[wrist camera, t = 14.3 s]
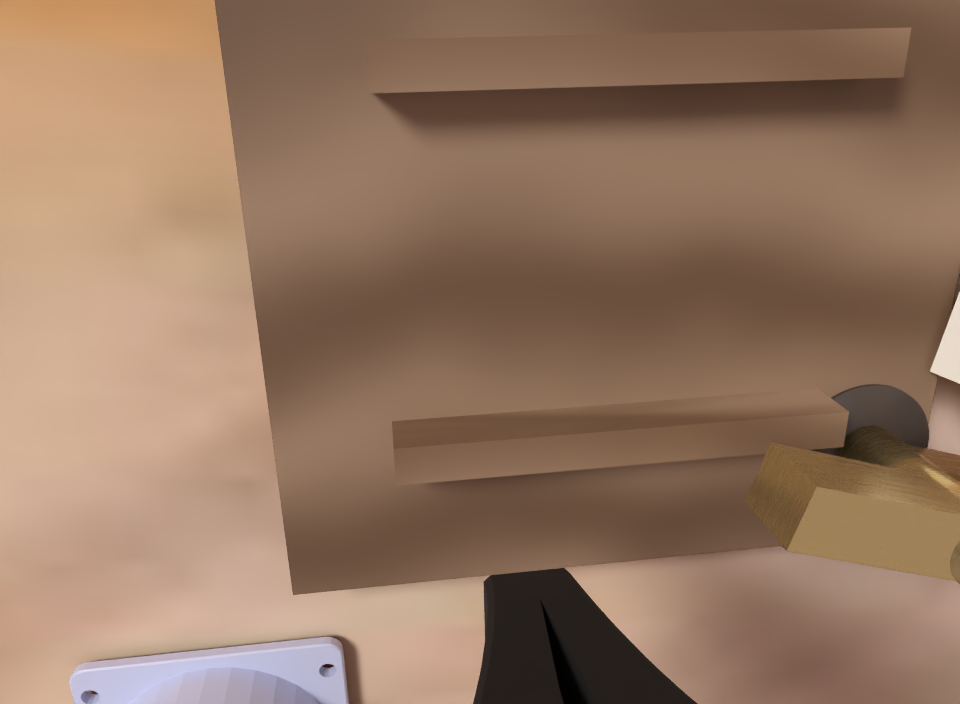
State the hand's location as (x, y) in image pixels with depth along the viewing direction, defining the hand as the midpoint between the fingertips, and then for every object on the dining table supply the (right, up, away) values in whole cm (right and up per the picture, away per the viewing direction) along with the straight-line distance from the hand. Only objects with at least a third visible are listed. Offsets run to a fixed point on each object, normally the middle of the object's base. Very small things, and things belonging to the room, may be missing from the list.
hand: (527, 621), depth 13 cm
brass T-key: (+11, +1, +9) cm, 14 cm away
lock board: (+3, +6, +9) cm, 11 cm away
